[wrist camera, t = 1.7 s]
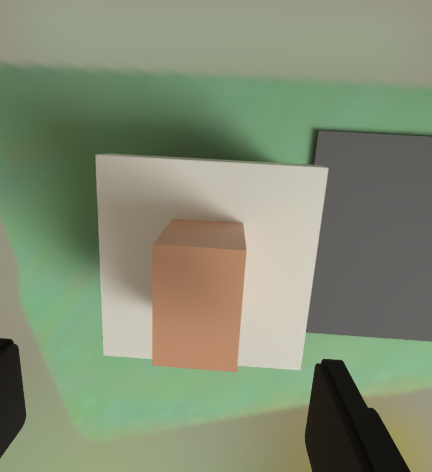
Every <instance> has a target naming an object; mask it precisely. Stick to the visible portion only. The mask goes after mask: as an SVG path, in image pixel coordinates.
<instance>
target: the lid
mask: <svg viewBox="0 0 432 472" xmlns="http://www.w3.org/2000/svg"><path fill="white" fill-rule="evenodd" d="M95 158H96V182H97V206H98V230H99V253H100V277H101V301H102V325H103V348H104V355H106V356H120V357H133V358H146V359H152V366H165V367H178V368H191V369H204V370H217V371H230V372H237V366H251V367H264V368H277V369H290V370H301V363H302V355H303V348H304V341H305V334H306V327H307V320H308V312H309V305H310V298H311V291H312V284H313V276H314V269H315V262H316V255H317V248H318V241H319V233H320V226H321V219H322V212H323V205H324V197H325V190H326V183H327V176H328V169H329V168H327V167H324V166H320V165H309V164H291V163H274V162H256V161H238V160H220V159H203V158H185V157H167V156H149V155H132V154H114V153H108V154H98V155H95Z"/></svg>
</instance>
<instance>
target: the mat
mask: <svg viewBox="0 0 432 472" xmlns="http://www.w3.org/2000/svg"><path fill="white" fill-rule="evenodd" d="M313 165H320V166H324V167H327V168H329V169H328V176H327V183H326V190H325V197H324V205H323V212H322V219H321V226H320V233H319V241H318V248H317V255H316V262H315V269H314V276H313V284H312V291H311V298H310V305H309V312H308V320H307V327H306V332H309V333H323V334H337V335H350V336H364V337H378V338H392V339H405V340H419V341H432V137H428V136H409V135H390V134H371V133H353V132H334V131H317V138H316V146H315V154H314V162H313Z"/></svg>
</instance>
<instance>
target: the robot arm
mask: <svg viewBox="0 0 432 472" xmlns="http://www.w3.org/2000/svg"><path fill="white" fill-rule="evenodd" d="M25 419H26V409H25V400H24V392H23V383H22V375H21V366H20V357H19V349H18V346H17V345H16V344H14V342H13V341H12V340H11V339H2V338H0V458H1V456H2V455H3V454H4V452H5V451H6V449H7V448H8V446H9V445H10V444H11V442H12V441H13V440H14V438H15V437H16V435H17V434H18V432H19V431H20V430H21V428H22V427H23V425H24V422H25ZM305 443H306V448H307V452H308V456H309V460H310V464H311V468H312V472H410V470H409V468H408V466H407V465H406V463H405V461H404V459H403V457H402V456H401V454H400V452H399V450H398V448H397V447H396V445H395V443H394V441H393V440H392V438H391V436H390V434H389V432H388V431H387V429H386V427H385V425H384V424H383V422H382V420H381V418H380V416H379V415H378V413H377V412H376V410H375V409H373V408H368V407H367V405H366V404H365V402H364V400H363V398H362V396H361V394H360V392H359V390H358V388H357V387H356V385H355V383H354V381H353V379H352V377H351V375H350V373H349V372H348V370H347V368H346V366H345V364H344V362H343V361H342V360H332V359H323V360H322V362H321V364H318V363H317V364H316V365H315V371H314V377H313V384H312V391H311V397H310V404H309V411H308V417H307V424H306V431H305Z"/></svg>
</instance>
